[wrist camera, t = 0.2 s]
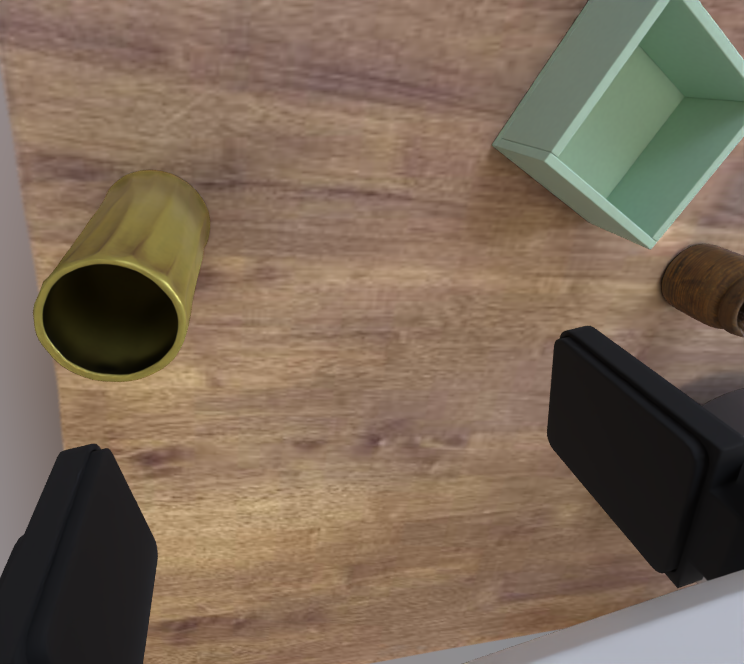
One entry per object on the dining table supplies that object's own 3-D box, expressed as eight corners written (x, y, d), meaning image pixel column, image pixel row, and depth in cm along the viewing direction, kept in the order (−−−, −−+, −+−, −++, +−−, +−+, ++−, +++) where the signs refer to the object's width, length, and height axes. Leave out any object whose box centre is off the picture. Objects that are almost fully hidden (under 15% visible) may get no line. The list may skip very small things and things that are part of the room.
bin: (596, -12, 31) (678, -28, 25) (688, 93, 36) (774, 99, 30) (491, 145, 34) (544, 161, 28) (589, 222, 39) (651, 250, 33)
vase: (102, 260, 31) (21, 388, 19) (102, 159, 29) (10, 231, 16) (205, 273, 33) (192, 397, 21) (214, 179, 31) (206, 258, 18)
